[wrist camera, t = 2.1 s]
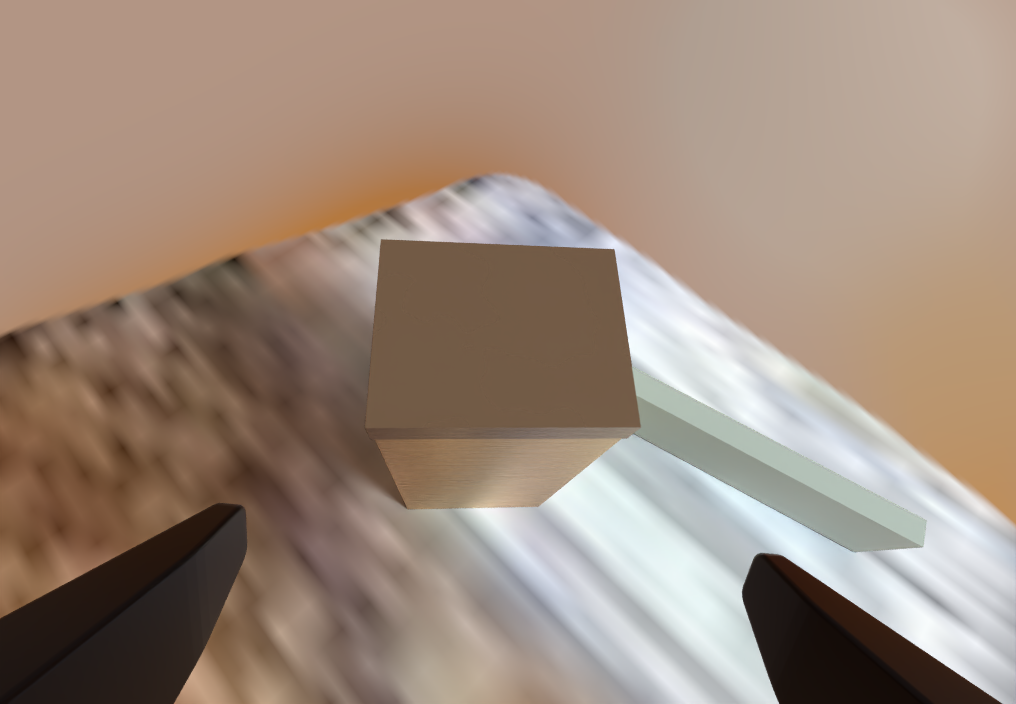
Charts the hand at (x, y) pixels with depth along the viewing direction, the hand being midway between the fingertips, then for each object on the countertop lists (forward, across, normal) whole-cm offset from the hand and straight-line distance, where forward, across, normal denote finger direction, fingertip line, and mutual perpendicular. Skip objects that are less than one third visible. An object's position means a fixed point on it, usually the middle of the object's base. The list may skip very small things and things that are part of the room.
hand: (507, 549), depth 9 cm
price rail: (+12, -7, +3) cm, 14 cm away
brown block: (+10, 0, +5) cm, 11 cm away
